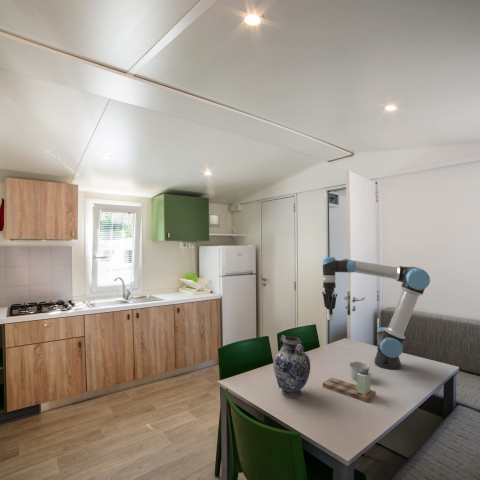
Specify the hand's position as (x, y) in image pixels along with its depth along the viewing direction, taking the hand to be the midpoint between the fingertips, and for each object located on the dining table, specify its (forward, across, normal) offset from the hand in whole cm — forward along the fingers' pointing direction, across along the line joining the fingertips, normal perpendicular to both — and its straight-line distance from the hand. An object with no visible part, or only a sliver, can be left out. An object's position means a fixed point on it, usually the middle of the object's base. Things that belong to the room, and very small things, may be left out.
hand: (329, 319), depth 197 cm
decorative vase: (+29, +24, -40) cm, 55 cm away
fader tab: (+27, +39, -7) cm, 48 cm away
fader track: (+29, +32, -11) cm, 44 cm away
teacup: (+30, +20, +5) cm, 36 cm away
